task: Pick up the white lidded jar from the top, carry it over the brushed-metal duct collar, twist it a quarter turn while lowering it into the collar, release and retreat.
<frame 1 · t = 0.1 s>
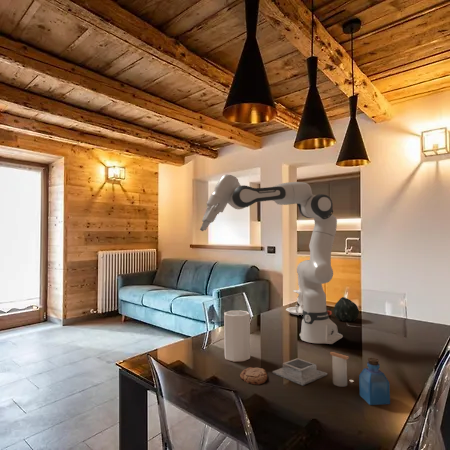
hand: (202, 230, 155), 54 cm above the table, tool tilted 30°, fingers open, 8 cm apart
duct collar: (299, 374, 120), on the table
white lidded jar: (340, 383, 111), on the table
squash: (346, 320, 201), on the table
cup: (237, 357, 138), on the table
candlestick: (300, 315, 216), on the table
perfume bottle: (374, 400, 100), on the table
cookie: (254, 379, 117), on the table
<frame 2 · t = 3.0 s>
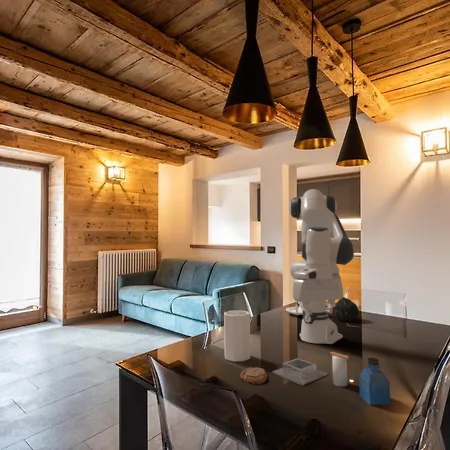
hand: (319, 313, 113), 24 cm above the table, tool pointing down, fingers open, 8 cm apart
nothing on the table moved.
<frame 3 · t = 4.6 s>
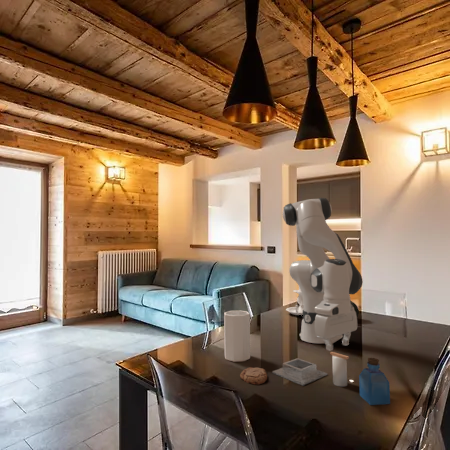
hand: (337, 347, 112), 12 cm above the table, tool pointing down, fingers open, 8 cm apart
nothing on the table moved.
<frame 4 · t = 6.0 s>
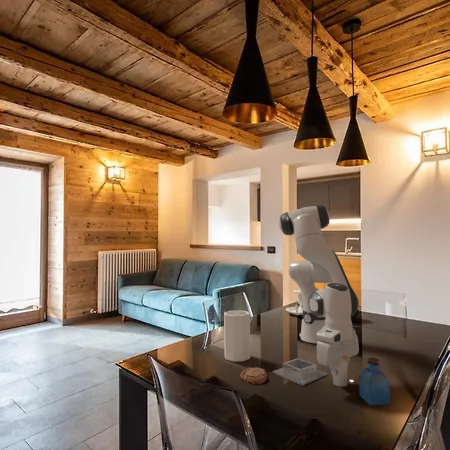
hand: (339, 372, 112), 4 cm above the table, tool pointing down, fingers closed on white lidded jar, 5 cm apart
white lidded jar: (340, 383, 111), on the table, touching gripper
everything else where it was.
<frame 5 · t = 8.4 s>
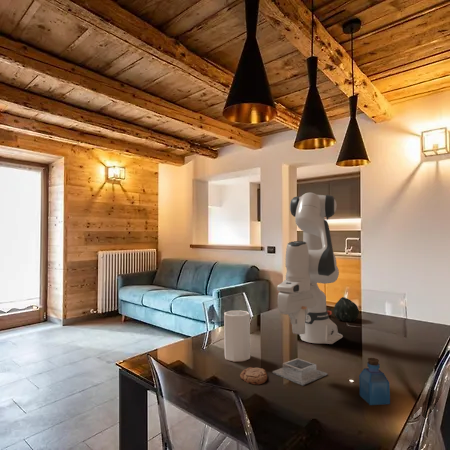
hand: (298, 322, 121), 19 cm above the table, tool pointing down, fingers closed on white lidded jar, 5 cm apart
white lidded jar: (298, 332, 121), point 15 cm above the table, touching gripper
everything else where it was.
when the fingers open (6 cm above the table, at t = 11.1 s): white lidded jar drops 2 cm, resting on duct collar.
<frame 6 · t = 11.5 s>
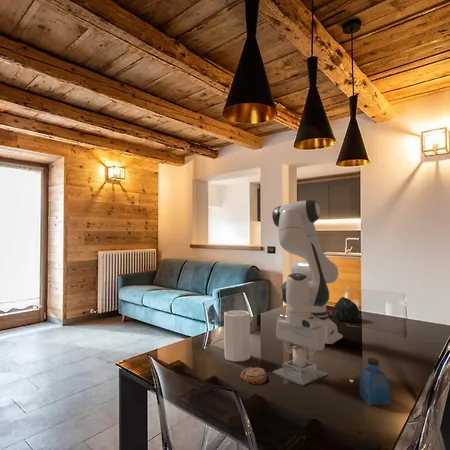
hand: (299, 356, 120), 6 cm above the table, tool pointing down, fingers open, 8 cm apart
white lidded jar: (299, 372, 120), point 1 cm above the table, touching duct collar
everything else where it was.
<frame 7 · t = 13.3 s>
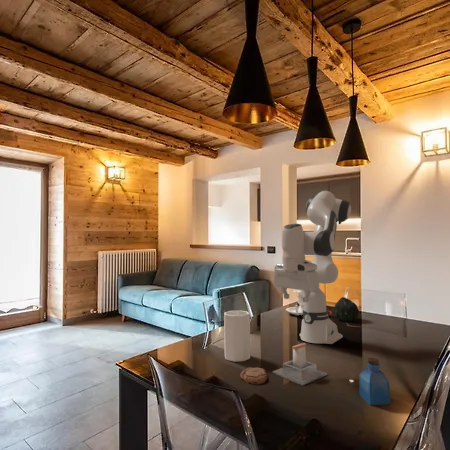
hand: (295, 300, 129), 25 cm above the table, tool pointing down, fingers open, 8 cm apart
nothing on the table moved.
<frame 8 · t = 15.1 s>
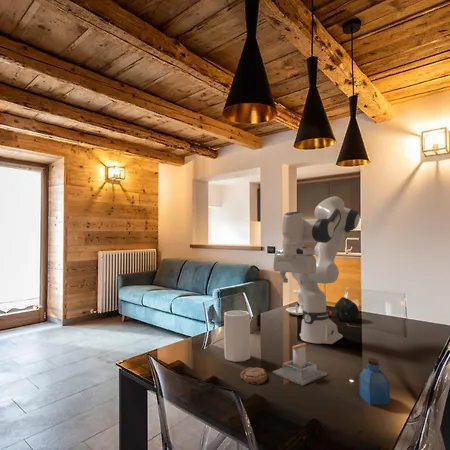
hand: (294, 283, 136), 31 cm above the table, tool pointing down, fingers open, 8 cm apart
nothing on the table moved.
at the end: white lidded jar 0.1 cm off-centre on the duct collar, point 0.6 cm above the duct collar's base; white lidded jar tilted 1°; the gripper is holding nothing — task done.
